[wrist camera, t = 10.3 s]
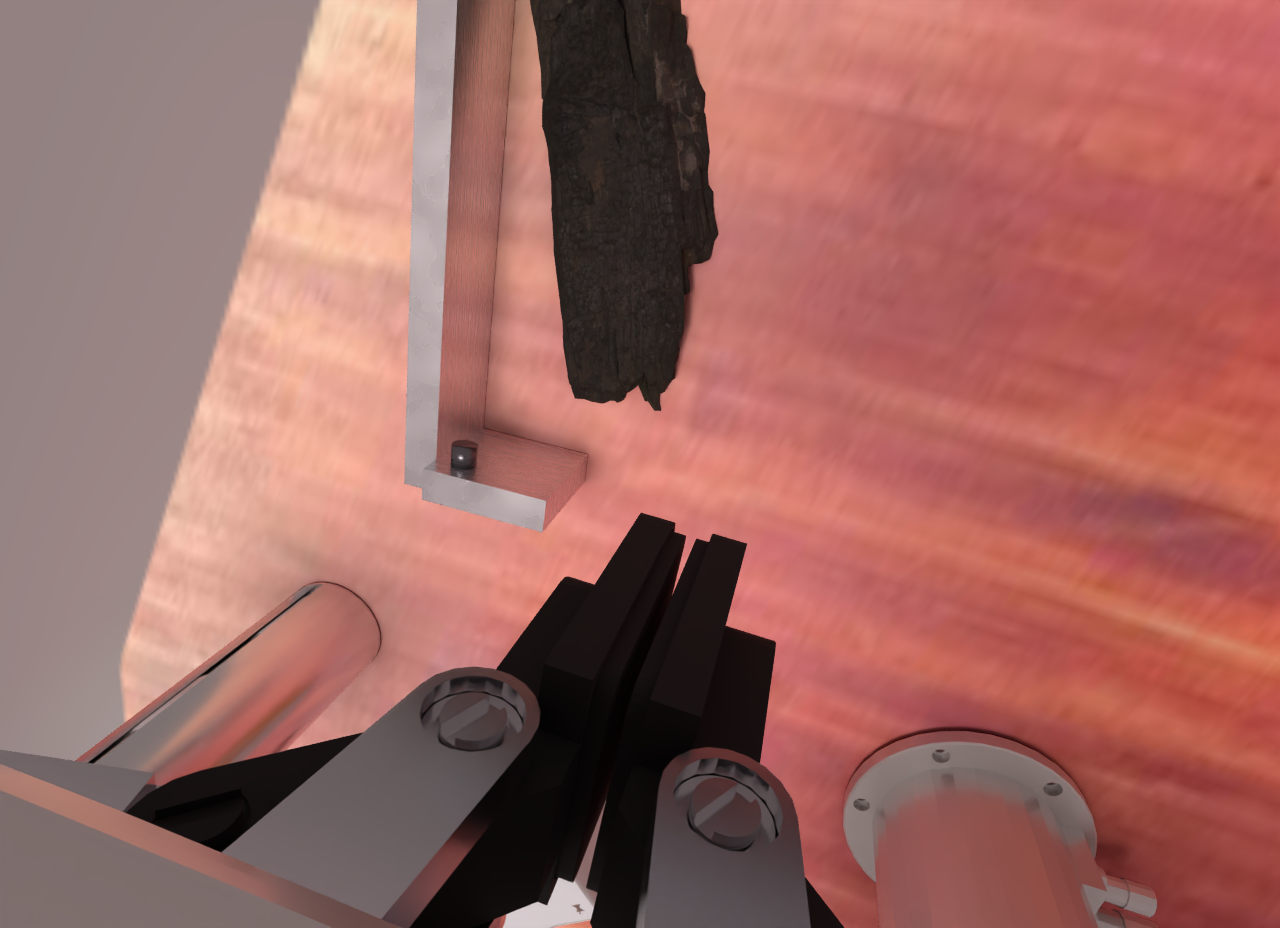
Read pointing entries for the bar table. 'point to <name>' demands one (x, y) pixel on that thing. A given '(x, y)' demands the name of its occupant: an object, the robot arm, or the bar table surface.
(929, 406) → the bar table surface
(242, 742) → the silver metal cylinder
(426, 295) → the rack
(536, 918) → the small box
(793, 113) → the bar table surface
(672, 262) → the wood
